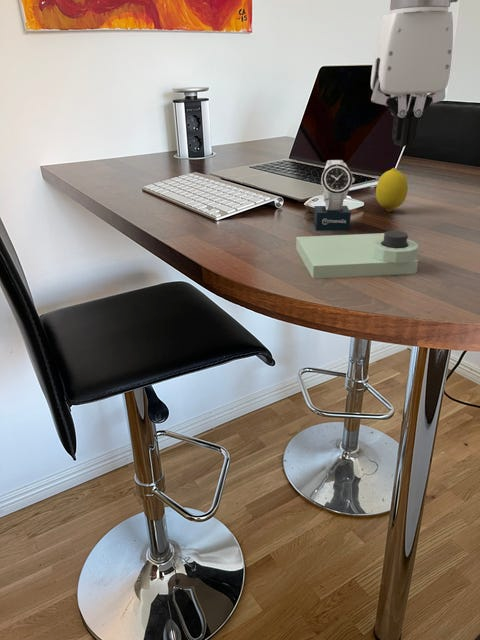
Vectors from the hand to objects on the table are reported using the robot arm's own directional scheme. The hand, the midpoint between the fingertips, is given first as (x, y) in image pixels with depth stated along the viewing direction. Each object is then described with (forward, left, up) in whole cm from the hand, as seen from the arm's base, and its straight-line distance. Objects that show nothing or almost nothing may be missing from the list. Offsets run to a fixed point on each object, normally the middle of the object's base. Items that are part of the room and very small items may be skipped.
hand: (402, 144), depth 75 cm
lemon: (-4, -13, -14) cm, 20 cm away
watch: (+9, -5, -14) cm, 17 cm away
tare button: (+5, +14, -11) cm, 19 cm away
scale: (+10, +11, -14) cm, 20 cm away
